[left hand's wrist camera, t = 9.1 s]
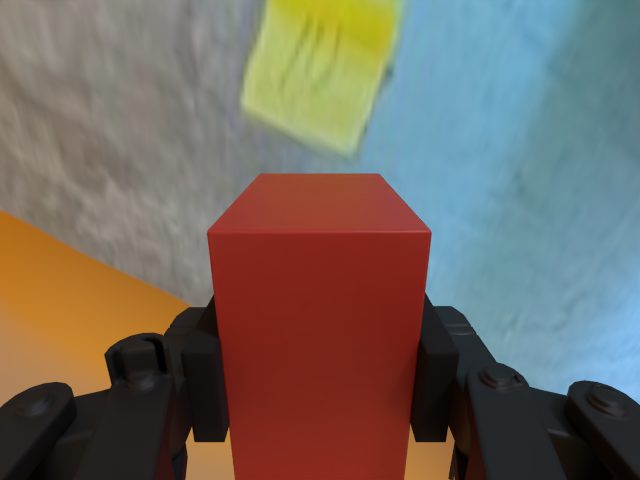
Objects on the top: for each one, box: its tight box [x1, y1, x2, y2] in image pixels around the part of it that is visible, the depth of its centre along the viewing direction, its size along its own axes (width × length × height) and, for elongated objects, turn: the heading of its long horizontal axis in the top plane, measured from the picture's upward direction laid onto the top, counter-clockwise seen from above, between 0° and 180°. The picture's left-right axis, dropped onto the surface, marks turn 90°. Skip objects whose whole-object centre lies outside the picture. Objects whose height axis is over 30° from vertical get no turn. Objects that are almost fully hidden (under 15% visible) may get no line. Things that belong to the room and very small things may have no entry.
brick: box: [207, 174, 432, 480], centre depth 13 cm, size 5×8×7 cm, turn 0°
